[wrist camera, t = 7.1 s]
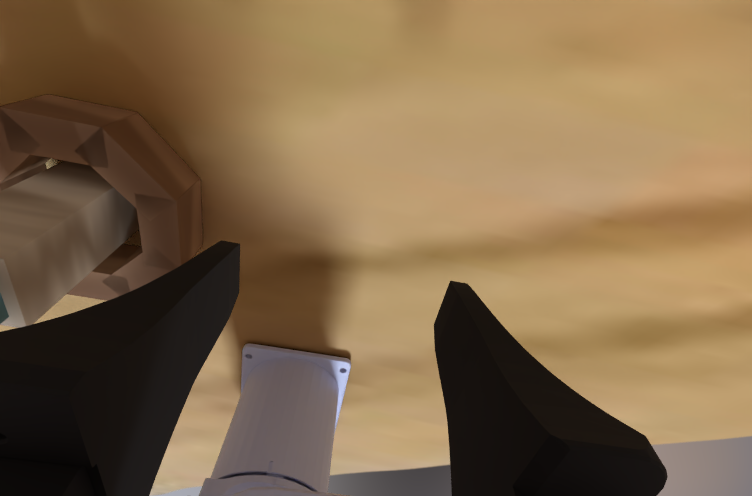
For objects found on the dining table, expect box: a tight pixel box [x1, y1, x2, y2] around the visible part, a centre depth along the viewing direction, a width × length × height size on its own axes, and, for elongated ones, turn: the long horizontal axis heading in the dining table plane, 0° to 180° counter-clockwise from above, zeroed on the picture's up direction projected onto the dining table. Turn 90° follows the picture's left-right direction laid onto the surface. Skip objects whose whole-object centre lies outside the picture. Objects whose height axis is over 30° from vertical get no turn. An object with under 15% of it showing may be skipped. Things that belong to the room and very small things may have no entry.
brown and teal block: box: [0, 161, 139, 328], centre depth 18 cm, size 4×4×10 cm
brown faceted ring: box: [0, 94, 203, 301], centre depth 21 cm, size 10×10×3 cm
